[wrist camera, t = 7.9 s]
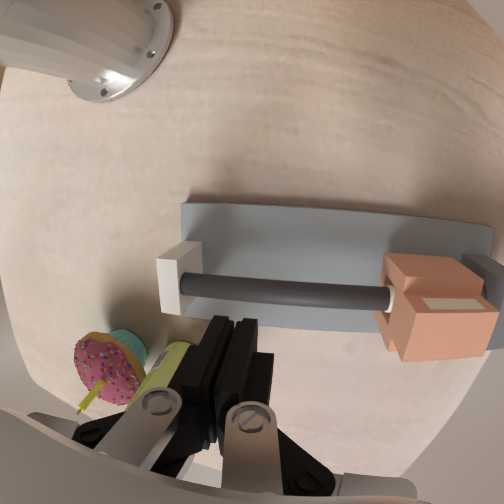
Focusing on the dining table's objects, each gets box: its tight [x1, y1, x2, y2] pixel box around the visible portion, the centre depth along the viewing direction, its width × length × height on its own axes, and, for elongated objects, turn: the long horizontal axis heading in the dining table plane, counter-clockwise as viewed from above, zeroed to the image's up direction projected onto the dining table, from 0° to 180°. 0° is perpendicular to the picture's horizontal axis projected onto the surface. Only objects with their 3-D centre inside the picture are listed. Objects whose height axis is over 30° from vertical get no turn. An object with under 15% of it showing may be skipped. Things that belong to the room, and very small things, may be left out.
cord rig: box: [156, 202, 504, 350], centre depth 19 cm, size 27×10×8 cm, turn 89°
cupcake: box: [74, 329, 147, 415], centre depth 23 cm, size 9×8×12 cm
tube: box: [125, 341, 191, 411], centre depth 19 cm, size 6×5×20 cm
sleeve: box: [373, 252, 499, 362], centre depth 16 cm, size 6×5×8 cm
